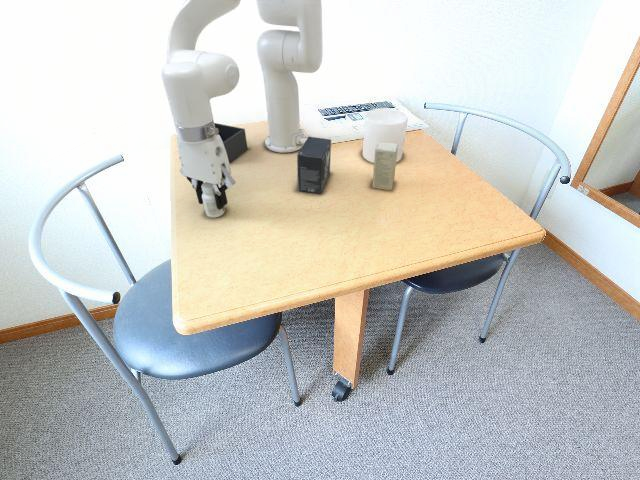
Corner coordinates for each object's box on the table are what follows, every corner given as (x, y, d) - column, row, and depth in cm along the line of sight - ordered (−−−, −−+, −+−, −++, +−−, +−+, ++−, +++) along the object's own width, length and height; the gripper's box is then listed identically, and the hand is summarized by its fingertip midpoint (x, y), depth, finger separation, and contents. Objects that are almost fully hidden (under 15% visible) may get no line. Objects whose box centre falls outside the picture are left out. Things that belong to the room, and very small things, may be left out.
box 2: (394, 182, 98) (399, 144, 90) (390, 191, 95) (396, 151, 87) (374, 179, 99) (378, 141, 92) (371, 187, 96) (374, 148, 89)
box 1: (321, 194, 93) (321, 157, 87) (297, 191, 95) (295, 154, 88) (331, 173, 101) (331, 138, 95) (308, 171, 103) (307, 135, 96)
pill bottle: (228, 212, 88) (222, 184, 83) (213, 220, 85) (206, 192, 80) (217, 205, 90) (211, 177, 85) (202, 212, 88) (195, 185, 83)
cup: (354, 153, 110) (356, 114, 102) (381, 142, 116) (385, 104, 108) (382, 168, 103) (387, 128, 95) (410, 156, 109) (417, 117, 101)
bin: (247, 149, 113) (244, 128, 108) (228, 164, 106) (224, 142, 101) (215, 142, 117) (211, 122, 112) (194, 156, 110) (189, 135, 105)
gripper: (241, 129, 74) (252, 203, 86) (175, 116, 80) (194, 188, 91) (219, 144, 69) (234, 221, 81) (150, 129, 74) (174, 203, 86)
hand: (213, 203), depth 86 cm, fingers closed on pill bottle, 4 cm apart
